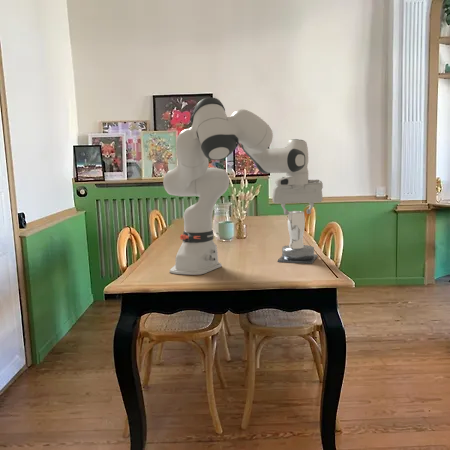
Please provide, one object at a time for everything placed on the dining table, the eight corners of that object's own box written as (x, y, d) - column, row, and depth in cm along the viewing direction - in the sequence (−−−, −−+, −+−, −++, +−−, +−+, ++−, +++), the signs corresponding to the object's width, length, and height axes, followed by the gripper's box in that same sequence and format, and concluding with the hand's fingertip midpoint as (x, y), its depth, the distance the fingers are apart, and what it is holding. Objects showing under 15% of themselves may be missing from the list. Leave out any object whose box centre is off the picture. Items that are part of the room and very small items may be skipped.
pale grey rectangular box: (296, 245, 206) (296, 210, 203) (308, 247, 200) (308, 211, 198) (284, 247, 201) (284, 212, 199) (296, 250, 196) (296, 213, 194)
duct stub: (312, 263, 193) (312, 251, 192) (277, 261, 198) (277, 250, 197) (317, 256, 206) (317, 245, 205) (285, 254, 211) (285, 244, 210)
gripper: (320, 179, 201) (320, 212, 203) (271, 180, 200) (271, 213, 202) (324, 179, 195) (324, 214, 197) (274, 181, 193) (274, 215, 195)
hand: (297, 213), depth 199 cm, fingers open, 8 cm apart
